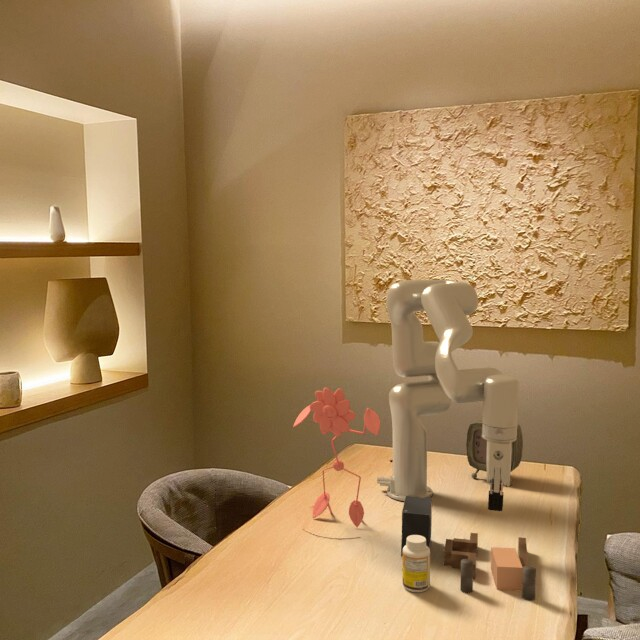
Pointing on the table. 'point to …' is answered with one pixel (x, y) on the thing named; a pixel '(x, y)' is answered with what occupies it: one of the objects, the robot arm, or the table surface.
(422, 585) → the supplement bottle
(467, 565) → the brown notched pieces
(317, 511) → the figurine
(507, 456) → the robot arm
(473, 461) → the tabletop clock
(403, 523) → the small box
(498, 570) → the block
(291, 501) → the table surface
